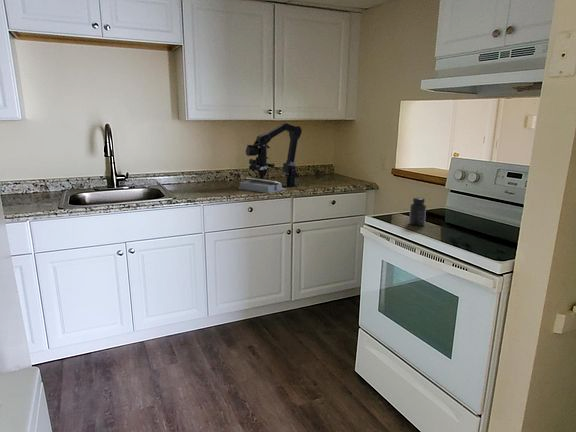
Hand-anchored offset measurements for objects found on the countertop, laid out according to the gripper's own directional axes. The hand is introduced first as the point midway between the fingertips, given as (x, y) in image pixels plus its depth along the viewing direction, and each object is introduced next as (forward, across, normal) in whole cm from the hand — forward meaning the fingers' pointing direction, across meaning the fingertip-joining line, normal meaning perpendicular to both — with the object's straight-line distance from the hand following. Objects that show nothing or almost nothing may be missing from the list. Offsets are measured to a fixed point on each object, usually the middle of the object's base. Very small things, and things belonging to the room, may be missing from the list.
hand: (262, 179), depth 272 cm
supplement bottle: (+6, +22, +111) cm, 114 cm away
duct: (+6, -1, 0) cm, 6 cm away
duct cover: (+1, -1, 0) cm, 1 cm away
